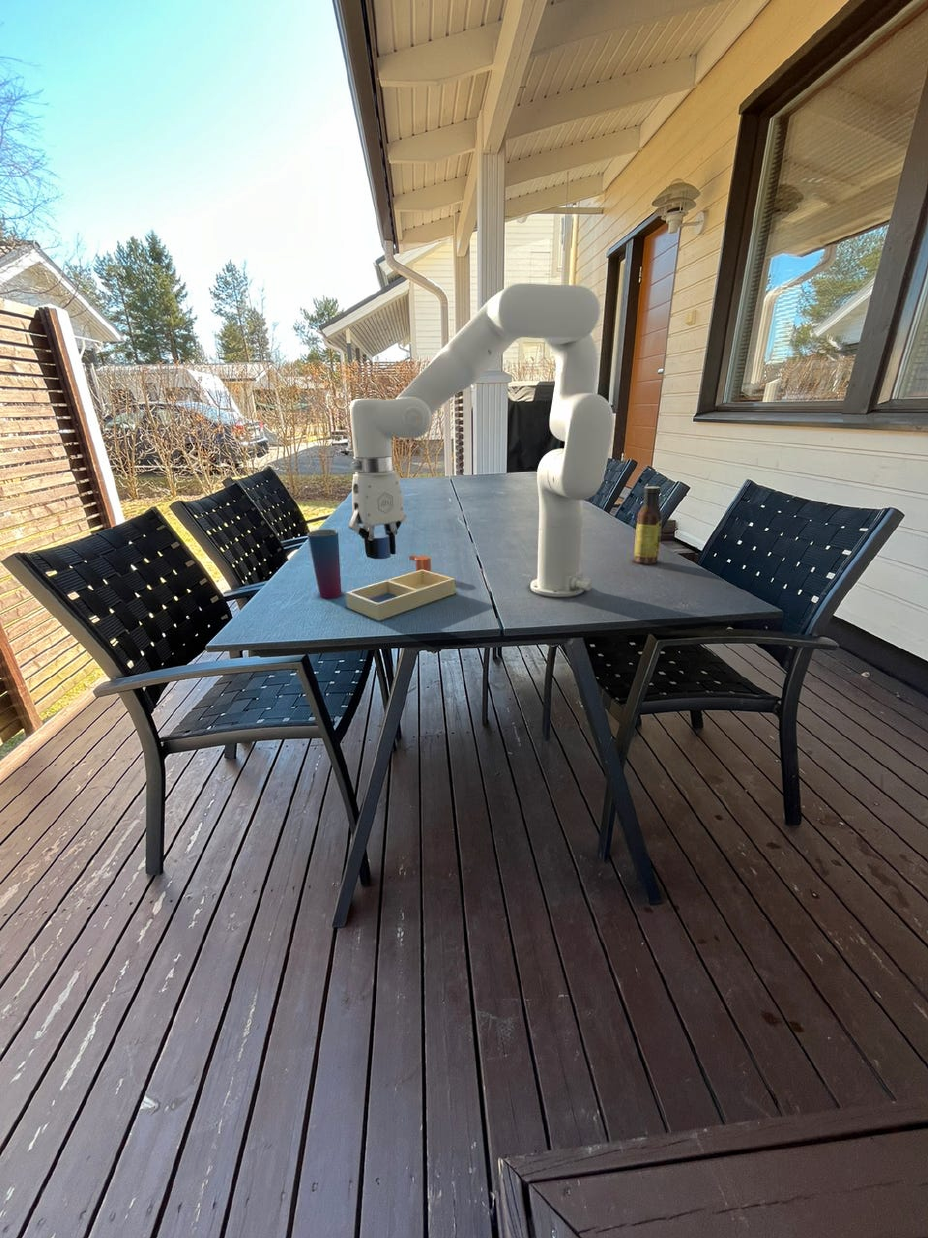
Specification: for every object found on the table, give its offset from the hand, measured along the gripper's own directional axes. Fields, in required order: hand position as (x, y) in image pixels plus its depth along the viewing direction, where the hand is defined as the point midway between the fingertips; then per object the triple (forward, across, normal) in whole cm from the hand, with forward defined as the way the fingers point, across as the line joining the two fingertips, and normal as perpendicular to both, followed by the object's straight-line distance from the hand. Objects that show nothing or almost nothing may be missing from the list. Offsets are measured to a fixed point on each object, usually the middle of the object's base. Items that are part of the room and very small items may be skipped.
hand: (381, 554), depth 111 cm
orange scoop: (+12, +22, +13) cm, 28 cm away
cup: (+12, -3, +17) cm, 21 cm away
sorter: (+12, +6, +1) cm, 13 cm away
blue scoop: (0, 0, +2) cm, 2 cm away
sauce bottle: (+12, +69, -26) cm, 74 cm away
